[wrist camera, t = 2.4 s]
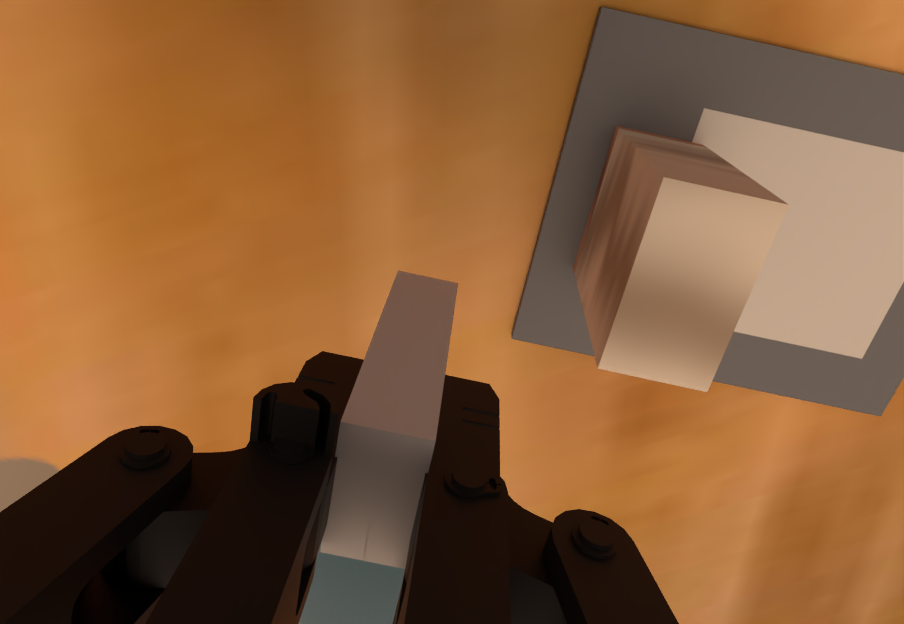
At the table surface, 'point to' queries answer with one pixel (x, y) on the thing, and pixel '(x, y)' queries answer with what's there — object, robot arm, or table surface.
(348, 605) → the cup
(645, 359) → the block
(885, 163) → the mat
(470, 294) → the table surface
